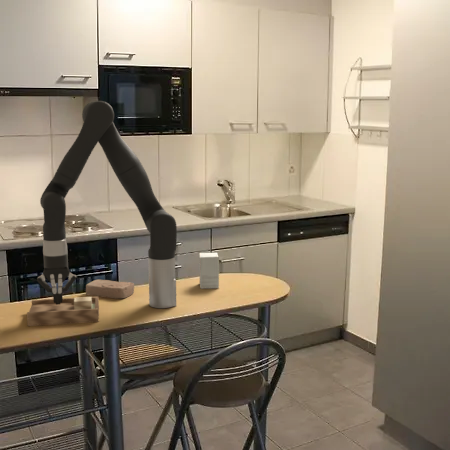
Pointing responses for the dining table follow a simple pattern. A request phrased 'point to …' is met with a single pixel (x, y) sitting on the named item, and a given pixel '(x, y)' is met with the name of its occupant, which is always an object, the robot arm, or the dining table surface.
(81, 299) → the block
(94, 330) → the dining table surface
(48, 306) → the tray
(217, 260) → the supplement box
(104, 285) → the brick
